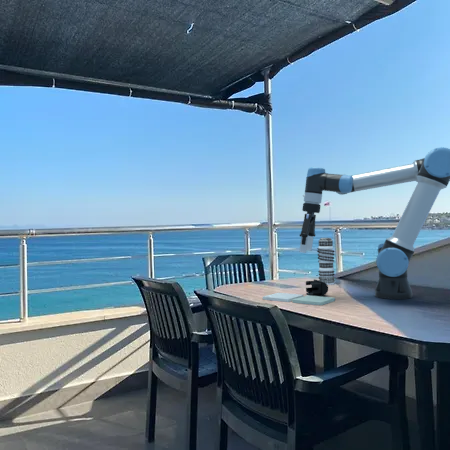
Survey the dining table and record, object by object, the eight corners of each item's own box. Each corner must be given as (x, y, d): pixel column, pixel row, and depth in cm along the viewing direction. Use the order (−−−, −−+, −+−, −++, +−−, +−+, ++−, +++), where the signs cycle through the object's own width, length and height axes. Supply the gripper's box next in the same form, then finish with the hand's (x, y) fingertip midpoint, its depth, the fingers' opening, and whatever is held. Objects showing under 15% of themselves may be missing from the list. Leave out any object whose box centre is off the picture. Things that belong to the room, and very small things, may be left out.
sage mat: (307, 297, 186) (307, 295, 186) (335, 300, 178) (335, 297, 178) (292, 302, 176) (292, 299, 176) (321, 305, 168) (321, 302, 168)
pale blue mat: (278, 295, 195) (278, 292, 195) (303, 297, 187) (303, 294, 187) (262, 299, 185) (262, 296, 185) (288, 302, 177) (288, 299, 177)
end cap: (328, 296, 189) (328, 281, 189) (313, 297, 187) (313, 282, 187) (320, 293, 198) (319, 279, 198) (305, 294, 197) (305, 279, 197)
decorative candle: (314, 283, 233) (313, 237, 233) (329, 282, 236) (328, 237, 236) (323, 285, 224) (322, 238, 224) (338, 284, 227) (337, 237, 227)
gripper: (308, 203, 197) (302, 248, 198) (297, 200, 174) (291, 251, 175) (324, 205, 194) (318, 250, 195) (315, 202, 171) (309, 254, 172)
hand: (305, 251), depth 185 cm, fingers open, 13 cm apart
